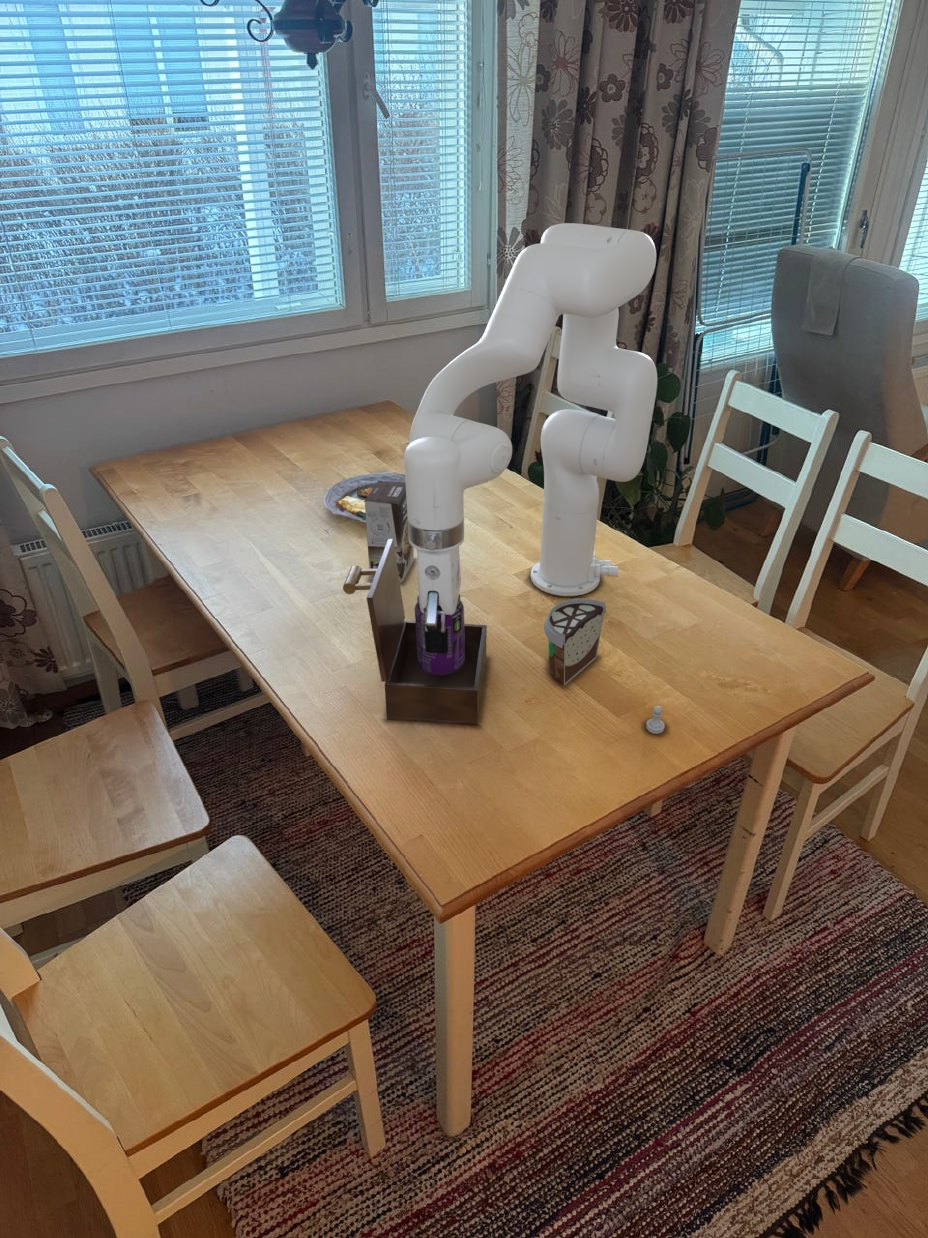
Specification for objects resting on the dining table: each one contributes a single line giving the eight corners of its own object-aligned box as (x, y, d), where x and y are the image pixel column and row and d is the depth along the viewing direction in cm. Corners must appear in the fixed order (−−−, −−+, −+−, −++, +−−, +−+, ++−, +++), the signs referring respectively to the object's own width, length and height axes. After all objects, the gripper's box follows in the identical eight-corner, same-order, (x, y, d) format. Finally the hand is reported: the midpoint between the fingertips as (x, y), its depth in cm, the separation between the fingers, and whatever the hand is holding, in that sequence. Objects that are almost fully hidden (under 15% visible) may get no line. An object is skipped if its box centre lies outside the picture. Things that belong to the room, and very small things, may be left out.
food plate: (463, 496, 185) (463, 481, 183) (408, 543, 167) (407, 527, 165) (366, 474, 194) (365, 459, 192) (304, 515, 177) (302, 500, 175)
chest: (486, 659, 136) (486, 624, 132) (477, 726, 123) (477, 690, 119) (404, 654, 137) (402, 620, 133) (386, 720, 124) (384, 684, 120)
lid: (393, 538, 125) (356, 539, 126) (372, 597, 112) (330, 598, 113) (405, 617, 133) (370, 618, 134) (386, 681, 120) (348, 682, 120)
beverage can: (472, 671, 126) (471, 605, 119) (427, 683, 124) (423, 616, 117) (455, 645, 132) (453, 579, 125) (411, 656, 130) (407, 590, 123)
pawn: (656, 720, 124) (659, 698, 121) (667, 730, 122) (671, 709, 119) (642, 725, 123) (645, 704, 120) (653, 736, 121) (657, 714, 118)
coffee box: (403, 584, 155) (399, 504, 146) (368, 580, 156) (362, 500, 147) (415, 559, 162) (412, 481, 153) (382, 556, 163) (377, 478, 154)
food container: (569, 639, 140) (573, 587, 135) (601, 653, 137) (607, 601, 131) (525, 675, 132) (528, 621, 127) (558, 690, 129) (562, 636, 124)
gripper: (456, 564, 107) (459, 674, 118) (470, 500, 121) (471, 604, 132) (398, 561, 108) (405, 671, 118) (417, 498, 122) (423, 601, 132)
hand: (440, 635), depth 125 cm, fingers closed on beverage can, 7 cm apart
